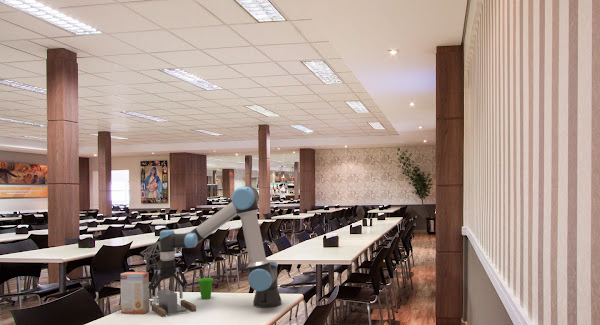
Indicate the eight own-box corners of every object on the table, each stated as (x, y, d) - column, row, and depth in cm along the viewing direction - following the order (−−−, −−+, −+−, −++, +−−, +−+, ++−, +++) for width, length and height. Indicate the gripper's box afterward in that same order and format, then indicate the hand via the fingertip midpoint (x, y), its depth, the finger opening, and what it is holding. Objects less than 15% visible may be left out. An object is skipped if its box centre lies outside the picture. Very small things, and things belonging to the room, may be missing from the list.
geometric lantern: (165, 307, 278) (163, 243, 280) (139, 307, 283) (138, 243, 284) (179, 301, 294) (177, 240, 295) (154, 300, 298) (153, 240, 299)
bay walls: (195, 311, 268) (195, 305, 268) (161, 316, 258) (161, 310, 259) (184, 305, 283) (184, 299, 283) (151, 310, 274) (151, 304, 274)
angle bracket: (158, 308, 275) (158, 290, 275) (176, 306, 280) (176, 287, 281) (167, 314, 261) (167, 294, 262) (186, 311, 267) (186, 292, 267)
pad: (190, 312, 266) (190, 311, 266) (167, 315, 260) (167, 315, 260) (178, 306, 282) (178, 305, 282) (157, 309, 275) (157, 308, 275)
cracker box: (150, 311, 271) (149, 271, 272) (143, 314, 266) (142, 273, 267) (128, 310, 276) (127, 271, 277) (120, 313, 270) (119, 273, 271)
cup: (210, 300, 293) (210, 280, 294) (195, 300, 295) (195, 281, 296) (216, 296, 302) (215, 278, 303) (201, 296, 304) (201, 278, 304)
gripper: (145, 262, 261) (146, 305, 260) (192, 257, 274) (193, 297, 273) (141, 261, 267) (142, 302, 266) (187, 256, 281) (188, 295, 280)
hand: (168, 300), depth 270 cm, fingers open, 13 cm apart
